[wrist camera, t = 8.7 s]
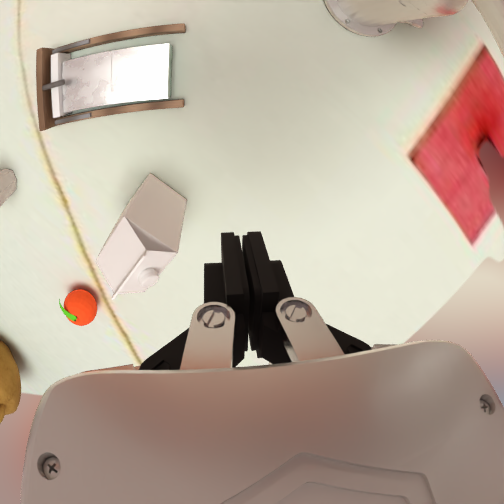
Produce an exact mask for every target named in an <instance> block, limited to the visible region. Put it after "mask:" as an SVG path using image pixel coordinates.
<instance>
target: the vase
mask: <svg viewBox="0 0 504 504" xmlns="http://www.w3.org/2000/svg"><path fill="white" fill-rule="evenodd" d="M20 396H21V381H20V375H19V370H18V367H17V364H16V362H15V360H14V358H13V356H12V354H11V351H10V349H9V348H8V346H7V345H6V344H5V343H4V342H2V341H1V340H0V423H1V422H2V420H3V418H4V415H7V414H11V413H14V412H15V411H16V410H17V407H18V405H19V402H20Z"/></svg>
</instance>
